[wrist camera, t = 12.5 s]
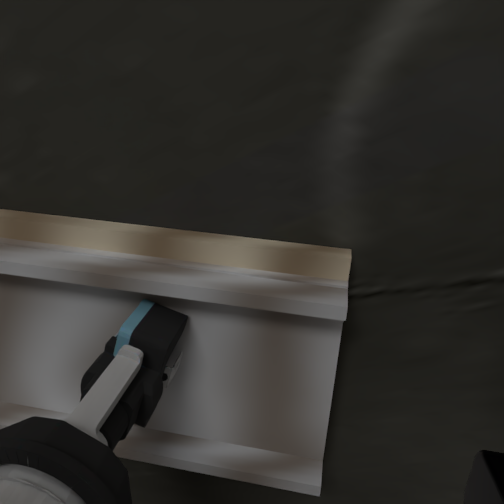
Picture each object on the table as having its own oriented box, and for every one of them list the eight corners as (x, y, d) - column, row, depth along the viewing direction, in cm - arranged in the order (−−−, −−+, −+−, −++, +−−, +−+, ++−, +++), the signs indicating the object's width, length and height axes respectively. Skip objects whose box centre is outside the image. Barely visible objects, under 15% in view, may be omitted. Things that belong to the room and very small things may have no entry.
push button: (184, 426, 23) (79, 665, 14) (85, 386, 23) (-82, 596, 14) (222, 319, 20) (121, 530, 11) (109, 274, 21) (-80, 447, 11)
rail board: (351, 249, 20) (351, 280, 17) (320, 462, 24) (316, 513, 22) (-32, 205, 22) (-85, 225, 20) (7, 404, 27) (-31, 443, 24)
